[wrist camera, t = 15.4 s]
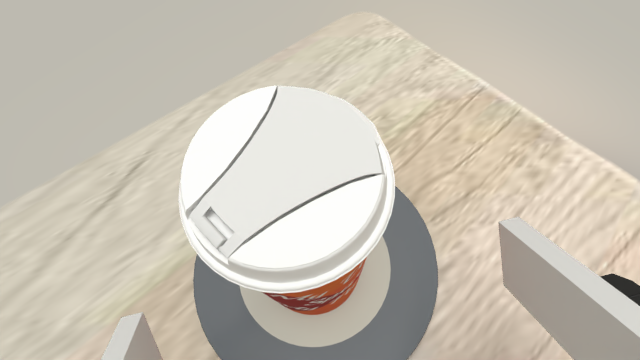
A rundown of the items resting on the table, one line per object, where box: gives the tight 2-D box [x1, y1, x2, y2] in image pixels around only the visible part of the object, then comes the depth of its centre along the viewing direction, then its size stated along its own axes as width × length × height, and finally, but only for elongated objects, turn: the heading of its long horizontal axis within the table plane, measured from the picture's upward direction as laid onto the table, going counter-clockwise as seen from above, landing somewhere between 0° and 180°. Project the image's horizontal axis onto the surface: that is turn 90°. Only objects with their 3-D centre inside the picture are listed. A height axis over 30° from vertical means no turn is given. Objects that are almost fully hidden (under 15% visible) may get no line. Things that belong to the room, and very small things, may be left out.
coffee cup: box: [179, 86, 395, 315], centre depth 23 cm, size 8×8×15 cm
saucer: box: [193, 186, 438, 360], centre depth 30 cm, size 16×16×1 cm
